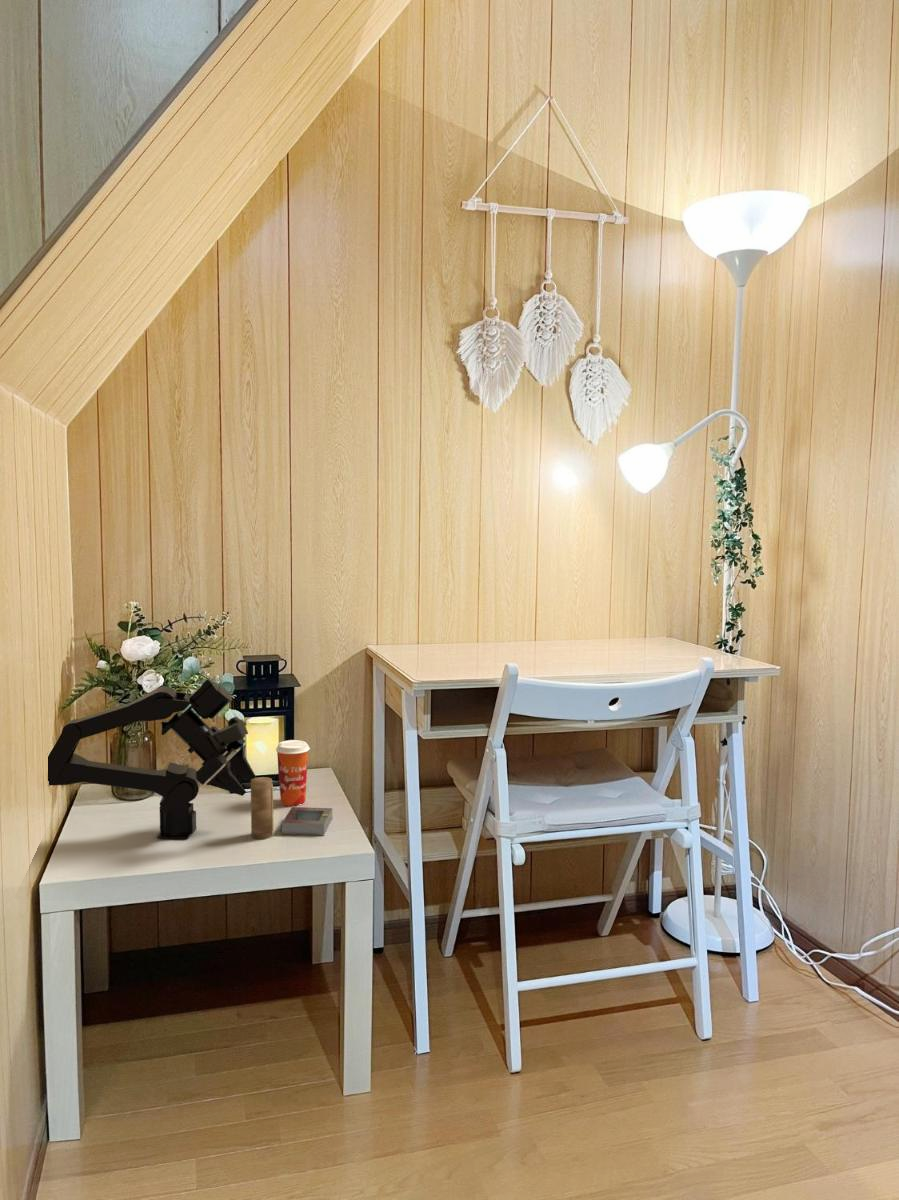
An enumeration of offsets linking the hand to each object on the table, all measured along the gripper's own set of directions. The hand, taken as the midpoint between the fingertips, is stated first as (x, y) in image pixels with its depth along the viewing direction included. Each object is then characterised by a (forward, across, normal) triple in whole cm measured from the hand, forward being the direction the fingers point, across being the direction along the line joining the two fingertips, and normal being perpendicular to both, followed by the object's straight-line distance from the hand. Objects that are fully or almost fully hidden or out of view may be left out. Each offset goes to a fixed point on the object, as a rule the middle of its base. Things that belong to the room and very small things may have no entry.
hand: (249, 787), depth 197 cm
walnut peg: (+9, 0, +6) cm, 11 cm away
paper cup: (+11, +21, +4) cm, 24 cm away
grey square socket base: (+15, +6, 0) cm, 16 cm away
